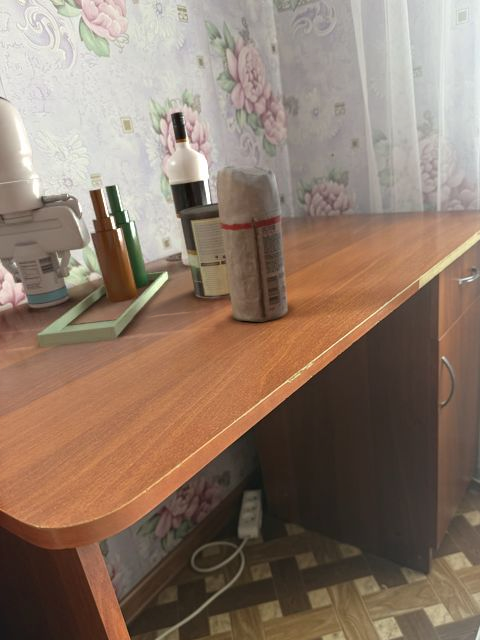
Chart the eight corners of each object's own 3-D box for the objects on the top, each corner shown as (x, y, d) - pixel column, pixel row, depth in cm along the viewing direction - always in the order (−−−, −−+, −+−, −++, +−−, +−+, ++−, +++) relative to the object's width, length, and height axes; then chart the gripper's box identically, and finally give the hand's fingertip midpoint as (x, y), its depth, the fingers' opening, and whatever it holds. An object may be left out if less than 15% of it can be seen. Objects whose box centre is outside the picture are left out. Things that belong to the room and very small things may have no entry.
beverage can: (71, 298, 95) (52, 235, 91) (70, 307, 89) (50, 240, 85) (33, 306, 94) (12, 242, 89) (29, 315, 87) (7, 247, 83)
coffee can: (182, 299, 83) (164, 214, 78) (221, 282, 91) (207, 202, 86) (229, 303, 77) (214, 211, 72) (267, 284, 85) (255, 199, 80)
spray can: (262, 302, 76) (242, 163, 68) (302, 308, 70) (286, 158, 63) (220, 319, 71) (194, 171, 63) (260, 328, 65) (237, 167, 58)
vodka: (196, 270, 103) (166, 111, 92) (175, 265, 110) (145, 117, 99) (233, 259, 108) (209, 107, 96) (211, 256, 115) (186, 113, 103)
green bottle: (118, 292, 93) (91, 188, 86) (126, 284, 97) (102, 186, 90) (145, 288, 92) (120, 184, 85) (152, 281, 97) (130, 182, 90)
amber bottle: (103, 304, 86) (74, 193, 79) (114, 295, 90) (86, 190, 83) (133, 301, 85) (105, 188, 78) (141, 292, 90) (116, 185, 83)
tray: (40, 348, 70) (36, 335, 69) (114, 287, 99) (111, 277, 98) (117, 339, 69) (113, 326, 68) (169, 280, 98) (166, 271, 97)
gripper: (83, 189, 86) (104, 268, 91) (-27, 205, 88) (-1, 281, 93) (68, 193, 80) (91, 277, 85) (-50, 210, 82) (-20, 290, 87)
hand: (42, 279), depth 89 cm, fingers closed on beverage can, 7 cm apart
